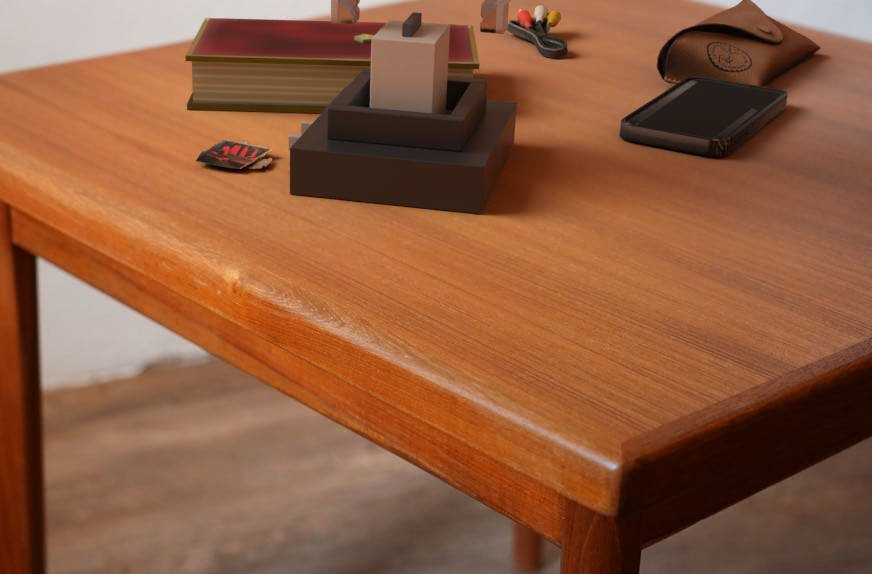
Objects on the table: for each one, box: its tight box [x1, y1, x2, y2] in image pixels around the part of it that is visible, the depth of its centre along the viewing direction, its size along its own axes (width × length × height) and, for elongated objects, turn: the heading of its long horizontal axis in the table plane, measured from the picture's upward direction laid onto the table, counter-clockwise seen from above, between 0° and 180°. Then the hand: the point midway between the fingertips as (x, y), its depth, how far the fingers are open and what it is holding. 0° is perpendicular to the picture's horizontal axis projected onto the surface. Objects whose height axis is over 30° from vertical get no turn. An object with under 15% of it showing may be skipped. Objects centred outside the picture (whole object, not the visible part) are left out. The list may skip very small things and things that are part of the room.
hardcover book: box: [185, 17, 480, 114], centre depth 109 cm, size 12×21×4 cm, turn 87°
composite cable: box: [506, 4, 569, 59], centre depth 123 cm, size 10×5×2 cm, turn 179°
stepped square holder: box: [287, 69, 518, 215], centre depth 93 cm, size 14×14×5 cm
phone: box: [619, 76, 789, 157], centre depth 104 cm, size 8×1×15 cm
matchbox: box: [195, 139, 274, 170], centre depth 95 cm, size 5×5×1 cm
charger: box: [370, 11, 450, 114], centre depth 91 cm, size 4×5×7 cm
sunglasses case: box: [656, 0, 821, 87], centre depth 117 cm, size 18×7×7 cm
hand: (418, 26), depth 90 cm, fingers open, 8 cm apart
